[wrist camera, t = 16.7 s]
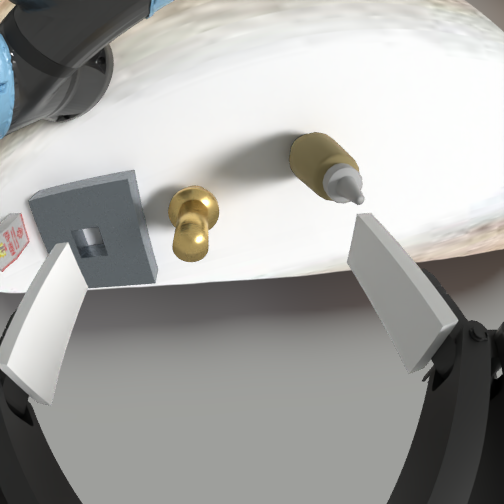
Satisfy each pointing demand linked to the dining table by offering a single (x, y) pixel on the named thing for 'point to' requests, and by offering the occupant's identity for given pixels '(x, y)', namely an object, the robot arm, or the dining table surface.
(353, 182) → the squeeze bottle
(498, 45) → the dining table surface
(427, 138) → the dining table surface
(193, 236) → the brass door knob
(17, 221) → the tea bag
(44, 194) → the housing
